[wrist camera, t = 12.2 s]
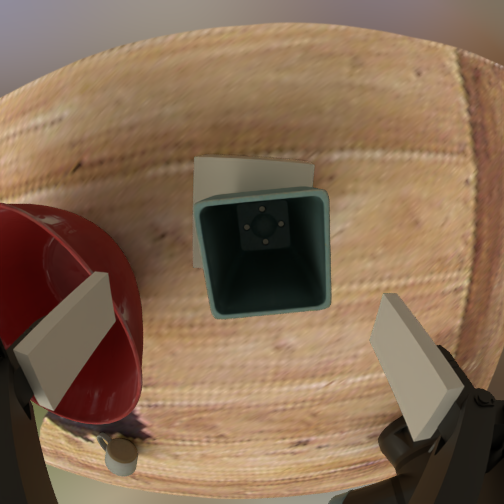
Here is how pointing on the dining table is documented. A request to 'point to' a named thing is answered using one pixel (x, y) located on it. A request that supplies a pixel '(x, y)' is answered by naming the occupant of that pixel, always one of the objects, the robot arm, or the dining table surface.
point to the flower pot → (265, 251)
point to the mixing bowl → (58, 288)
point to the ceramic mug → (119, 455)
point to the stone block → (244, 180)
